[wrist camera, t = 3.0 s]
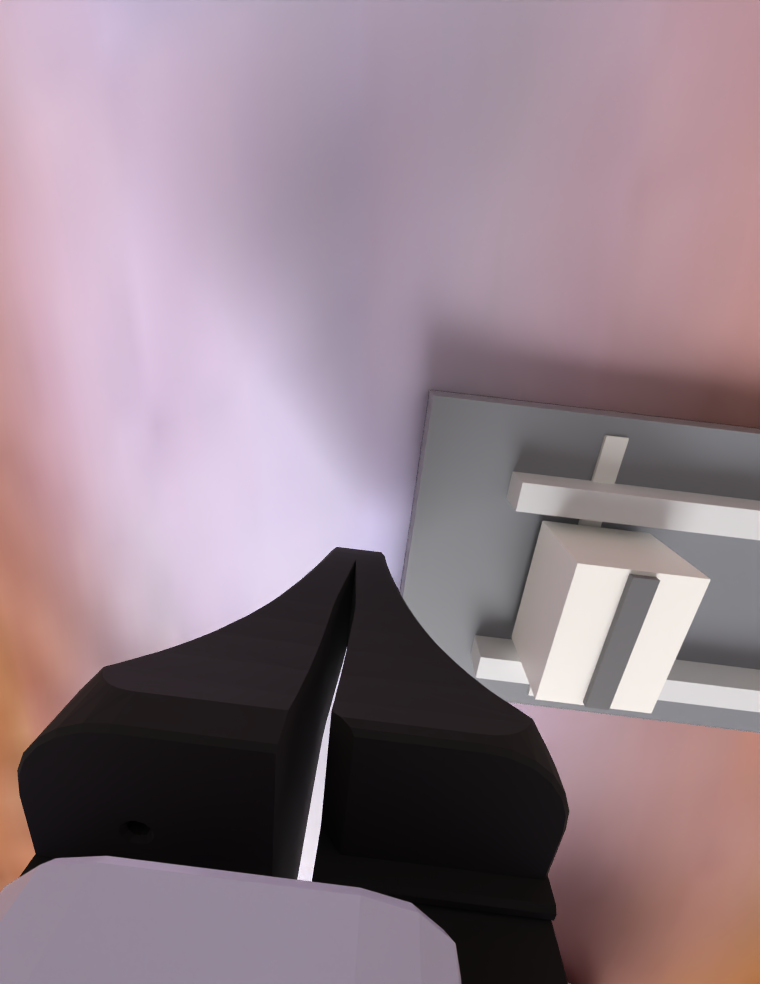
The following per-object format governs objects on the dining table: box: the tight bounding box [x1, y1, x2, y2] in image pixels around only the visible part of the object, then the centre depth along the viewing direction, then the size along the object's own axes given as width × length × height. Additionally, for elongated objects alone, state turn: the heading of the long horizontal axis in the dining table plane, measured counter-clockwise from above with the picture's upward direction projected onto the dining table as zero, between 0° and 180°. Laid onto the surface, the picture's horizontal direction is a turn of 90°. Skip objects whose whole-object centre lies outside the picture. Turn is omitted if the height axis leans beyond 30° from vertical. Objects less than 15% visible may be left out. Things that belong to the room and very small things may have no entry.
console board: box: [400, 390, 760, 733], centre depth 13 cm, size 18×10×2 cm, turn 84°
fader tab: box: [512, 521, 711, 713], centre depth 11 cm, size 3×4×3 cm
